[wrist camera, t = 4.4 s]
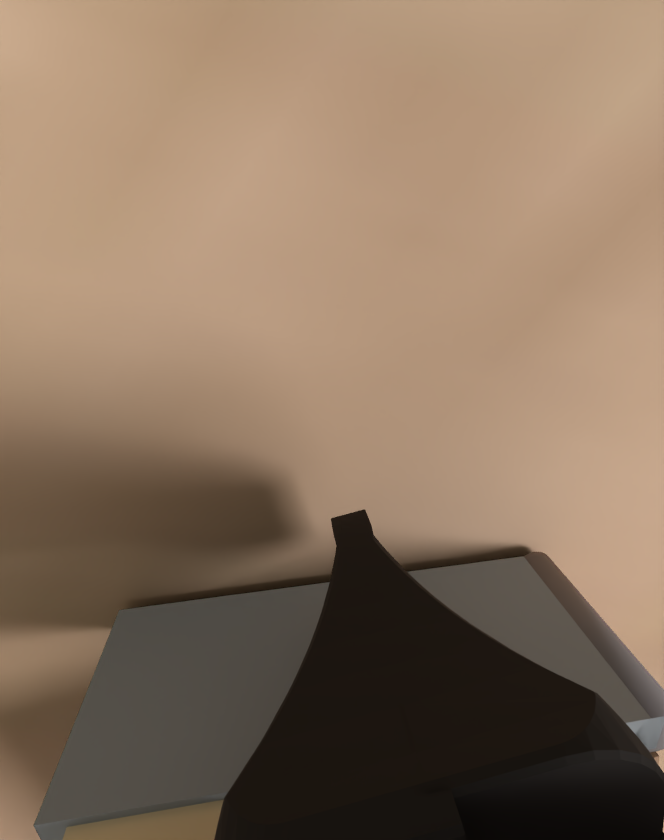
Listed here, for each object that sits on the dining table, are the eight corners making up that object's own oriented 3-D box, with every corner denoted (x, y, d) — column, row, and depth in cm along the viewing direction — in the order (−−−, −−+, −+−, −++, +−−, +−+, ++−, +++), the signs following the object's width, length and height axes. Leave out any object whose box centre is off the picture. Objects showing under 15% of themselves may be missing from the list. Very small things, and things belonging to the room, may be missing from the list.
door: (553, 549, 14) (722, 738, 9) (548, 581, 14) (706, 777, 9) (118, 607, 13) (14, 865, 7) (128, 639, 13) (36, 904, 8)
